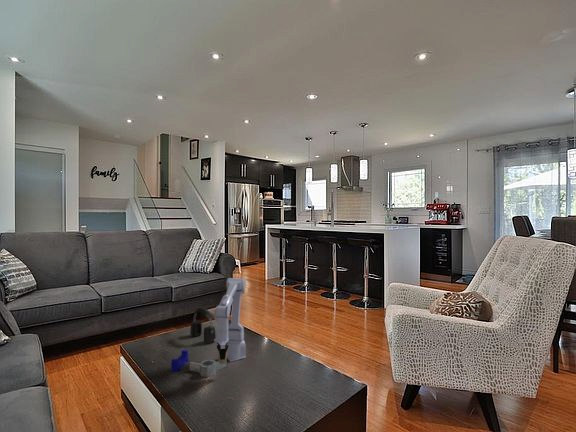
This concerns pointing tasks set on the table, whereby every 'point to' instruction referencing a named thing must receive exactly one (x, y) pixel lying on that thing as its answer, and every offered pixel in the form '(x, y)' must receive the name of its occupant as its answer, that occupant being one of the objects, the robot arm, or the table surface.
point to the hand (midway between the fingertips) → (222, 357)
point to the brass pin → (223, 360)
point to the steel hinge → (207, 367)
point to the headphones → (208, 331)
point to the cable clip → (180, 361)
